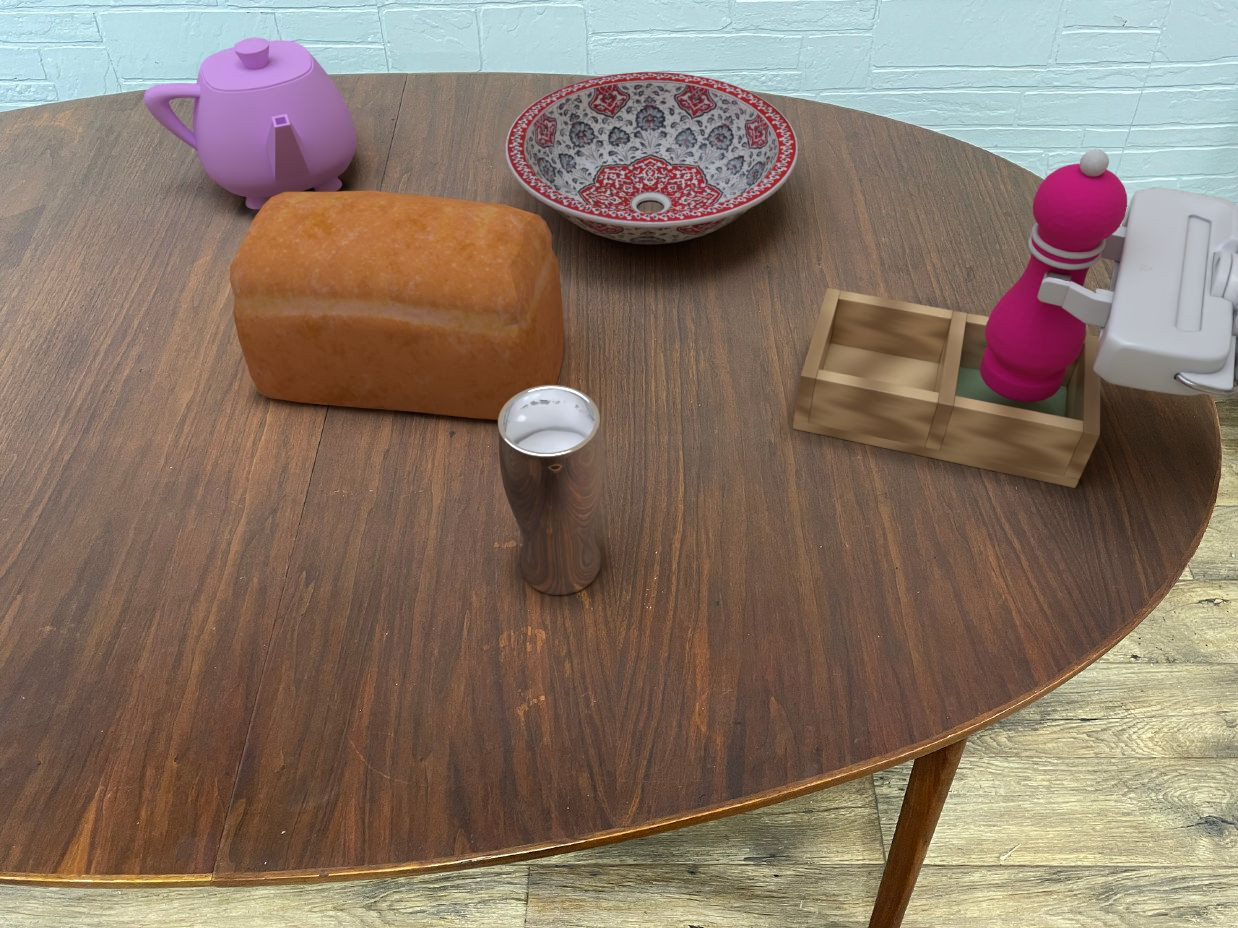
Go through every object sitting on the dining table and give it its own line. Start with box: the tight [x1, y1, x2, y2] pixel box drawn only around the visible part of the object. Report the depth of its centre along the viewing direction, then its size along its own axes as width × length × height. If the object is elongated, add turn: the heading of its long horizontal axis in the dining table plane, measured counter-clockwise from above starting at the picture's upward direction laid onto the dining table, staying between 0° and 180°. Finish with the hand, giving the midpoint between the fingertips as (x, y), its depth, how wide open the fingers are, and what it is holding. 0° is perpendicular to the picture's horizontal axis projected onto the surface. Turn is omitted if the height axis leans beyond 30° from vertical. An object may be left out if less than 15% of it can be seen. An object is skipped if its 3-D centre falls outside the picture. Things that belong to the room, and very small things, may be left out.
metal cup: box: [497, 384, 605, 596], centre depth 72 cm, size 7×7×15 cm
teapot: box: [143, 37, 358, 210], centre depth 108 cm, size 20×20×15 cm
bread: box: [229, 190, 565, 421], centre depth 87 cm, size 14×26×16 cm, turn 82°
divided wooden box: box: [792, 287, 1101, 489], centre depth 86 cm, size 23×12×6 cm, turn 72°
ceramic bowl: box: [504, 71, 799, 245], centre depth 107 cm, size 29×29×8 cm
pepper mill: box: [980, 148, 1128, 402], centre depth 76 cm, size 7×7×20 cm
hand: (1047, 260), depth 76 cm, fingers closed on pepper mill, 5 cm apart
